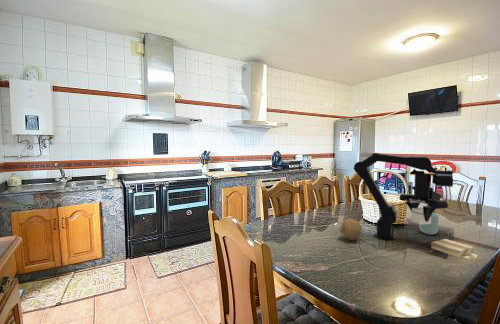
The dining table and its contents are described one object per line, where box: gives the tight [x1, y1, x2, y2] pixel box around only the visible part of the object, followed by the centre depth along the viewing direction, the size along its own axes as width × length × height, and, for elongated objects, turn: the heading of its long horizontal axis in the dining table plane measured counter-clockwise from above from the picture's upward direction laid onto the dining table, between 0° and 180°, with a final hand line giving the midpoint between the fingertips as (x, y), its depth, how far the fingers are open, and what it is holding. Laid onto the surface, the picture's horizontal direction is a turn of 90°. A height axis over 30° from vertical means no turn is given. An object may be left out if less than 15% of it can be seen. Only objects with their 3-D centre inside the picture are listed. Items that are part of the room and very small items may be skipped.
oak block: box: [431, 238, 474, 258], centre depth 101 cm, size 10×10×3 cm
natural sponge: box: [339, 218, 362, 241], centre depth 112 cm, size 9×9×10 cm
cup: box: [418, 212, 440, 236], centre depth 121 cm, size 8×8×10 cm
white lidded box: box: [411, 207, 431, 225], centre depth 107 cm, size 5×5×6 cm
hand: (421, 219), depth 107 cm, fingers closed on white lidded box, 5 cm apart
